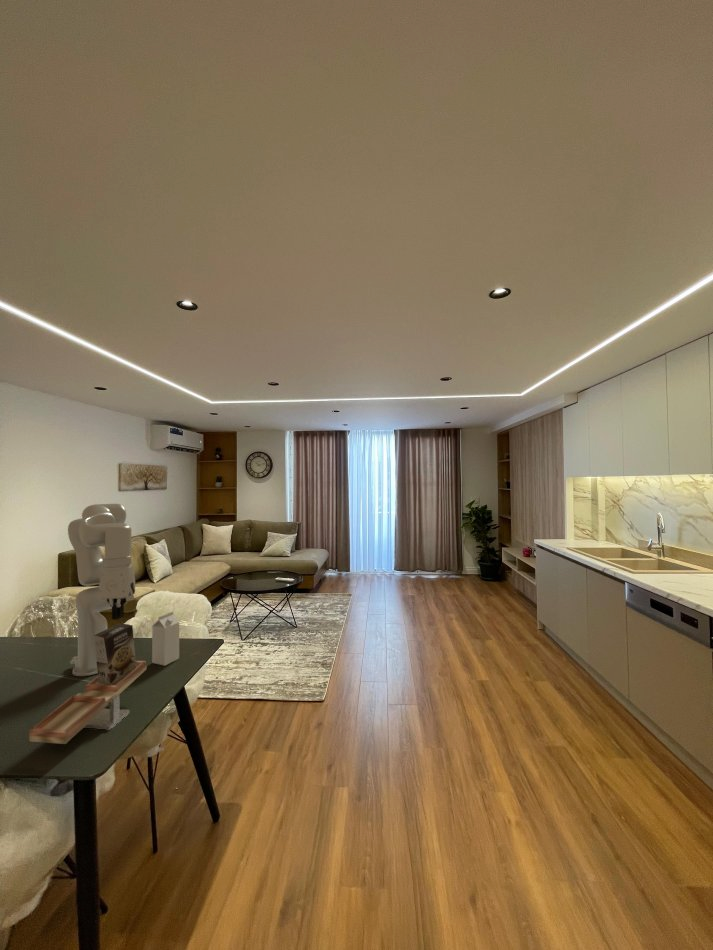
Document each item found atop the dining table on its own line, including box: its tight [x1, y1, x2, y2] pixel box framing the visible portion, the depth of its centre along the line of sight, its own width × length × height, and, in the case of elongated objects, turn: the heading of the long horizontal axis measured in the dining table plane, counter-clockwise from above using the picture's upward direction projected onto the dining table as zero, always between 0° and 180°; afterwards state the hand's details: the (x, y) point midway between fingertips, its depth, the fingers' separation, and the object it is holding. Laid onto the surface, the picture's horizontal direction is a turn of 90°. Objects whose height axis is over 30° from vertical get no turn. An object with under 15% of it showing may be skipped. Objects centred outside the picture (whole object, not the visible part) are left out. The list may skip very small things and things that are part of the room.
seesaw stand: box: [76, 692, 130, 731], centre depth 115 cm, size 16×8×7 cm, turn 83°
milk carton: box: [151, 611, 180, 667], centre depth 154 cm, size 7×7×19 cm
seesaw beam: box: [28, 660, 148, 745], centre depth 114 cm, size 11×32×4 cm, turn 173°
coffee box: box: [94, 622, 137, 685], centre depth 123 cm, size 9×6×16 cm
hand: (117, 618), depth 124 cm, fingers closed
